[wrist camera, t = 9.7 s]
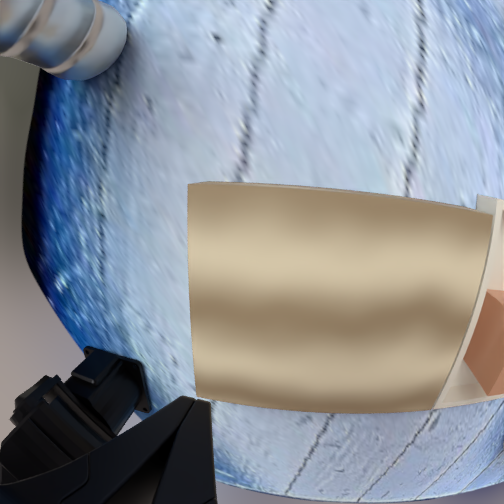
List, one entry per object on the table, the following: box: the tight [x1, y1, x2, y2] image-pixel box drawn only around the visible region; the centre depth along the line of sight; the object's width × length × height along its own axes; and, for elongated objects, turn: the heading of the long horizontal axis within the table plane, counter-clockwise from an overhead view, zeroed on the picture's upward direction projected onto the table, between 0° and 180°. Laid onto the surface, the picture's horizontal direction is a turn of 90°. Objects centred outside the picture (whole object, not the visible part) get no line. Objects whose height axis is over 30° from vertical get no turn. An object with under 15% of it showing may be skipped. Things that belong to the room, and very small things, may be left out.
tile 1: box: [463, 289, 504, 396], centre depth 14 cm, size 6×6×2 cm
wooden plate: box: [188, 181, 493, 413], centre depth 17 cm, size 14×17×4 cm
